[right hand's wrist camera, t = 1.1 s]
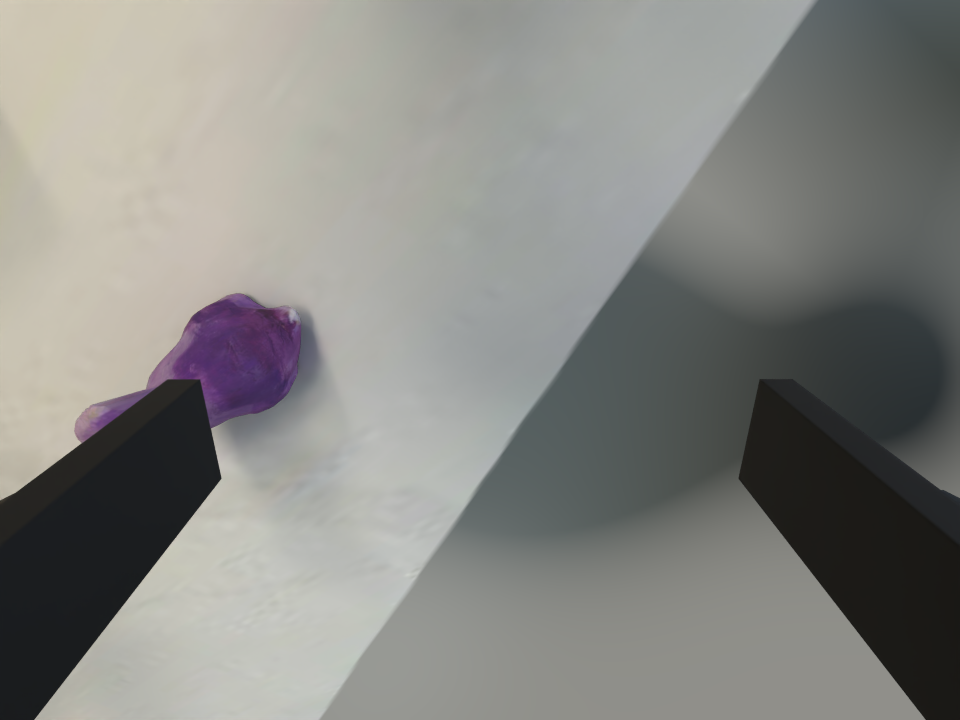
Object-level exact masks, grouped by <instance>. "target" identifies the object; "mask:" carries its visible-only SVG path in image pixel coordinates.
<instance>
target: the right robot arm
mask: <svg viewBox="0 0 960 720" xmlns="http://www.w3.org/2000/svg"><path fill="white" fill-rule="evenodd" d="M220 480H221V474H220V469H219V465H218V460H217V455H216V451H215V446H214V441H213V437H212V432H211V427H210V423H209V418H208V413H207V408H206V404H205V399H204V394H203V390H202V385H201V380H200V379H167V380H166V381H165V382H163V383H162V384H161V385H159V386H158V387H157V388H155V389H154V390H153V391H151V392H150V393H149V394H147V395H146V396H145V397H143V398H142V399H140V400H139V401H138V402H136V403H135V404H134V405H132V406H131V407H130V408H128V409H127V410H126V411H124V412H123V413H122V414H120V415H119V416H118V417H116V418H115V419H114V420H112V421H111V422H110V423H108V424H107V425H106V426H104V427H103V428H102V429H100V430H99V431H98V432H96V433H95V434H94V435H92V436H91V437H90V438H88V439H87V440H86V441H84V442H83V443H82V444H80V445H79V446H78V447H76V448H75V449H74V450H72V451H71V452H70V453H68V454H67V455H66V456H64V457H63V458H62V459H60V460H59V461H58V462H56V463H55V464H54V465H52V466H51V467H50V468H48V469H47V470H46V471H44V472H43V473H42V474H40V475H39V476H38V477H36V478H35V479H34V480H32V481H31V482H30V483H28V484H27V485H25V486H24V487H23V488H21V489H20V490H19V491H17V492H16V493H14V494H12V495H10V496H8V497H6V498H4V499H2V500H0V720H34V719H35V718H36V717H37V715H38V714H39V713H40V712H41V710H42V709H43V708H44V706H45V705H46V704H47V703H48V701H49V700H50V699H51V697H52V696H53V695H54V694H55V692H56V691H57V690H58V688H59V687H60V686H61V685H62V683H63V682H64V681H65V679H66V678H67V677H68V676H69V674H70V673H71V672H72V670H73V669H74V668H75V667H76V665H77V664H78V663H79V661H80V660H81V659H82V658H83V656H84V655H85V654H86V652H87V651H88V650H89V649H90V647H91V646H92V645H93V643H94V642H95V641H96V640H97V638H98V637H99V636H100V634H101V633H102V632H103V630H104V629H105V628H106V627H107V625H108V624H109V623H110V621H111V620H112V619H113V618H114V616H115V615H116V614H117V612H118V611H119V610H120V609H121V607H122V606H123V605H124V603H125V602H126V601H127V600H128V598H129V597H130V596H131V594H132V593H133V592H134V591H135V589H136V588H137V587H138V585H139V584H140V583H141V582H142V580H143V579H144V578H145V576H146V575H147V574H148V573H149V571H150V570H151V569H152V567H153V566H154V565H155V564H156V562H157V561H158V560H159V558H160V557H161V556H162V555H163V553H164V552H165V551H166V549H167V548H168V547H169V545H170V544H171V543H172V542H173V540H174V539H175V538H176V536H177V535H178V534H179V533H180V531H181V530H182V529H183V527H184V526H185V525H186V524H187V522H188V521H189V520H190V518H191V517H192V516H193V515H194V513H195V512H196V511H197V509H198V508H199V507H200V506H201V504H202V503H203V502H204V500H205V499H206V498H207V497H208V495H209V494H210V493H211V491H212V490H213V489H214V488H215V486H216V485H217V484H218V482H219V481H220ZM739 480H740V481H741V482H742V484H743V485H744V486H745V488H746V489H747V490H748V491H749V493H750V494H751V495H752V497H753V498H754V499H755V500H756V502H757V503H758V504H759V506H760V507H761V508H762V509H763V511H764V512H765V513H766V514H767V516H768V517H769V518H770V520H771V521H772V522H773V524H774V525H775V526H776V527H777V529H778V530H779V531H780V533H781V534H782V535H783V536H784V538H785V539H786V540H787V542H788V543H789V544H790V545H791V547H792V548H793V549H794V551H795V552H796V553H797V555H798V556H799V557H800V558H801V560H802V561H803V562H804V564H805V565H806V566H807V567H808V569H809V570H810V571H811V573H812V574H813V575H814V576H815V578H816V579H817V580H818V582H819V583H820V584H821V585H822V587H823V588H824V589H825V590H826V592H827V593H828V594H829V596H830V597H831V598H832V600H833V601H834V602H835V603H836V605H837V606H838V607H839V609H840V610H841V611H842V612H843V614H844V615H845V616H846V618H847V619H848V620H849V621H850V623H851V624H852V625H853V627H854V628H855V629H856V630H857V632H858V633H859V634H860V636H861V637H862V638H863V639H864V641H865V642H866V643H867V645H868V646H869V647H870V649H871V650H872V651H873V652H874V654H875V655H876V656H877V658H878V659H879V660H880V661H881V663H882V664H883V665H884V667H885V668H886V669H887V670H888V672H889V673H890V674H891V676H892V677H893V678H894V679H895V681H896V682H897V683H898V685H899V686H900V687H901V688H902V690H903V691H904V692H905V694H906V695H907V696H908V697H909V699H910V700H911V701H912V703H913V704H914V705H915V706H916V708H917V709H918V710H919V712H920V713H921V714H922V715H923V717H924V718H925V719H926V720H960V498H958V497H956V496H954V495H952V494H950V493H948V492H946V491H944V490H940V489H939V488H937V487H936V486H934V485H933V484H932V483H930V482H929V481H928V480H926V479H925V478H924V477H922V476H921V475H920V474H918V473H917V472H916V471H914V470H913V469H912V468H910V467H909V466H908V465H906V464H905V463H904V462H902V461H901V460H900V459H898V458H897V457H896V456H894V455H893V454H892V453H890V452H889V451H888V450H886V449H885V448H884V447H882V446H881V445H880V444H878V443H877V442H876V441H874V440H873V439H872V438H870V437H869V436H868V435H866V434H865V433H864V432H862V431H861V430H860V429H858V428H857V427H856V426H854V425H853V424H851V423H850V422H849V421H847V420H846V419H845V418H844V417H842V416H841V415H840V414H838V413H837V412H836V411H834V410H833V409H832V408H830V407H829V406H827V405H826V404H825V403H824V402H822V401H821V400H820V399H818V398H817V397H815V396H814V395H813V394H811V393H810V392H809V391H807V390H806V389H805V388H803V387H802V386H801V385H799V384H798V383H797V382H795V381H794V380H793V379H760V381H759V385H758V390H757V395H756V399H755V404H754V408H753V413H752V418H751V423H750V427H749V432H748V437H747V441H746V446H745V451H744V455H743V460H742V465H741V469H740V474H739Z"/></svg>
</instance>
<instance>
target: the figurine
mask: <svg viewBox="0 0 960 720" xmlns="http://www.w3.org/2000/svg"><path fill="white" fill-rule="evenodd" d="M300 343H301V321H300V317H299V315H298V313H297V311H296V310H295V309H294V308H292V307H290V306H281V307H277V308H264V307H262V306H261V305H258V304H257V303H255V302H253V301H252V300H251V299H250V298H249V297H247V296H246V295H243V294H239V293H237V294H232V295H228V296H226V297H224V298H222V299H220V300H219V301H217V302H215V303H213V304H211V305H208V306H206V307H205V308H203V309H202V310H200V311H198V312H197V313H196V314H194V315H193V316H192V318H191V319H190V321H189V322H188V324H187V326H186V327H185V329H184V332H183V334H182V337H181V339H180V341H179V342H178V344H177V345H176V346H175V347H174V348H173V349H172V350H171V351H170V352H169V353H168V354H167V355H166V356H165V358H164V359H163V360H162V361H161V362H160V363H159V364H158V365H157V367H156V368H155V369H154V371H153V372H152V374H151V375H150V377H149V380H148V383H147V387H146V390H142V391H139V392H135V393H132V394H128V395H125V396H121V397H118V398H114V399H111V400H107V401H104V402H100V403H97V404H93V405H90V407H89V408H87V409H85V411H84V412H82V414H81V415H80V416H79V418H78V419H77V420H76V423H75V430H74V431H75V435H76V437H77V438H78V440H79V441H80V442H81V443H83V442H84V441H86V440H87V439H88V438H90V437H91V436H92V435H94V434H95V433H96V432H98V431H99V430H100V429H102V428H103V427H104V426H106V425H107V424H108V423H110V422H111V421H112V420H114V419H115V418H116V417H118V416H119V415H120V414H122V413H123V412H124V411H126V410H127V409H128V408H130V407H131V406H132V405H134V404H135V403H136V402H138V401H139V400H140V399H142V398H143V397H145V396H146V395H147V394H149V393H150V392H151V391H153V390H154V389H155V388H157V387H158V386H159V385H161V384H162V383H163V382H165V381H166V380H167V379H200V380H201V385H202V390H203V394H204V399H205V404H206V408H207V413H208V418H209V423H210V427H211V428H213V427H215V426H217V425H219V424H221V423H223V422H224V421H226V420H228V419H230V418H234V417H237V416H241V415H246V414H255V413H259V412H262V411H264V410H267V409H269V408H271V407H273V406H274V405H276V404H277V403H278V402H279V401H281V400H282V399H283V398H284V397H285V396H286V395H287V393H288V392H289V390H290V388H291V386H292V384H293V382H294V380H295V378H296V376H297V373H298V367H297V362H298V357H299V352H300Z"/></svg>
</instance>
